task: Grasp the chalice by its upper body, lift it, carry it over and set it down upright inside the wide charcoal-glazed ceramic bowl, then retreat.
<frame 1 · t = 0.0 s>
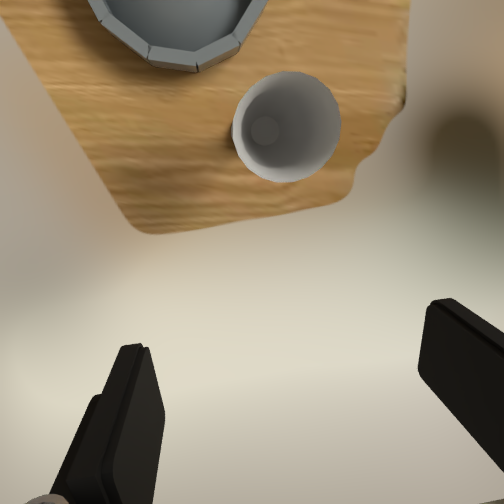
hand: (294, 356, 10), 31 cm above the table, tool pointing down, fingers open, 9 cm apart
chalice: (251, 131, 37), on the table
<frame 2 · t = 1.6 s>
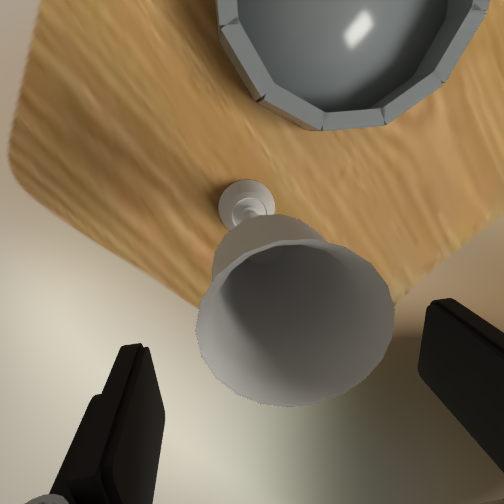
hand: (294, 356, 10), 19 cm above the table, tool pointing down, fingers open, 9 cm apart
chalice: (246, 207, 27), on the table
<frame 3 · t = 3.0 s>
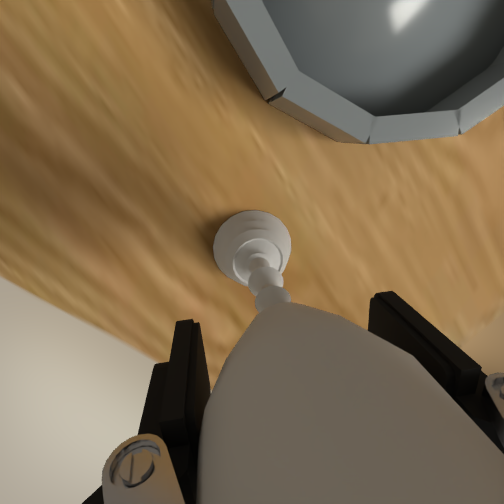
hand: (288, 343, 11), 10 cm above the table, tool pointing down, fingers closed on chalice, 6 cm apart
chalice: (252, 247, 20), on the table, touching gripper
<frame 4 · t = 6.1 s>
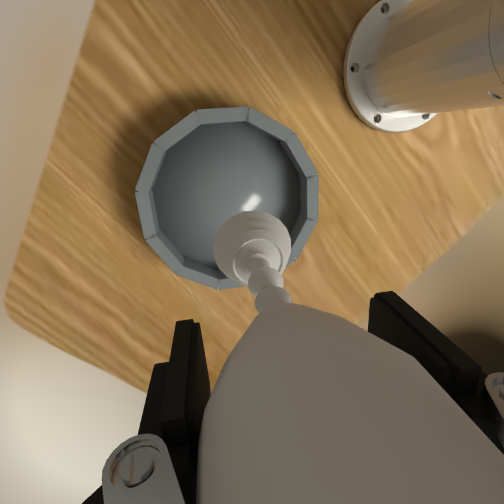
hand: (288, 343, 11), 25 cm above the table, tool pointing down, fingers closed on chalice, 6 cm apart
bowl: (229, 200, 34), on the table
chalice: (252, 247, 20), point 15 cm above the table, touching gripper
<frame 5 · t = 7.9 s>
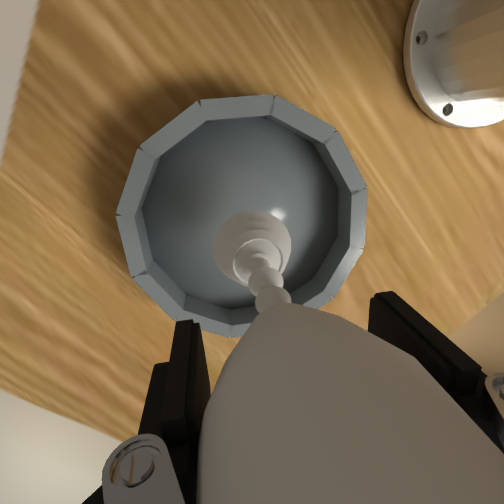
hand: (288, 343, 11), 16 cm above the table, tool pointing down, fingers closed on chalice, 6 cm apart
bowl: (244, 220, 26), on the table
chalice: (252, 247, 20), point 6 cm above the table, touching gripper
when the fingers open (12 cm above the table, at t = 9.1 s): chalice drops 2 cm, resting on bowl.
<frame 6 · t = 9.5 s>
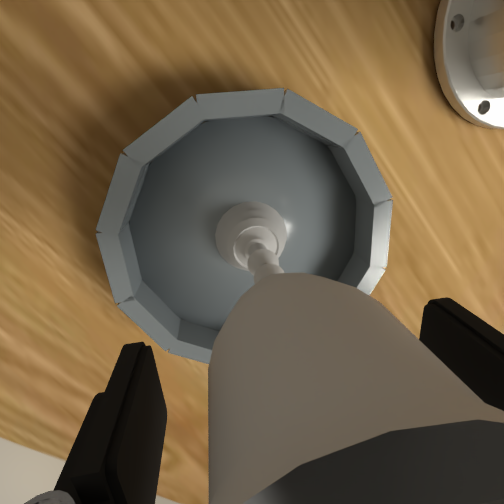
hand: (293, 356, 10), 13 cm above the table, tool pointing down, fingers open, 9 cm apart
bowl: (247, 234, 22), on the table
chalice: (251, 236, 22), point 1 cm above the table, touching bowl
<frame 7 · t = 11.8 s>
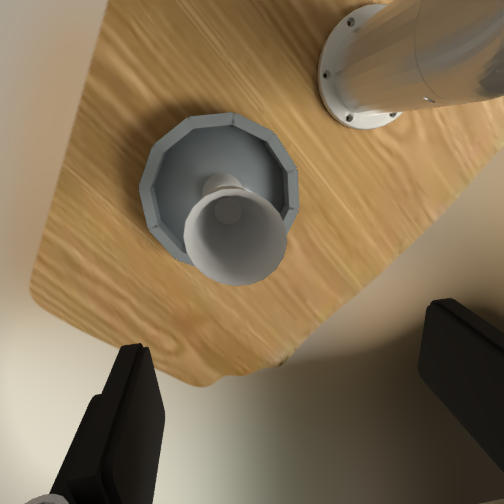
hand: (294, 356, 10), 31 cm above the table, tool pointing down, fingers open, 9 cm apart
bowl: (221, 193, 39), on the table
chalice: (223, 193, 38), point 1 cm above the table, touching bowl
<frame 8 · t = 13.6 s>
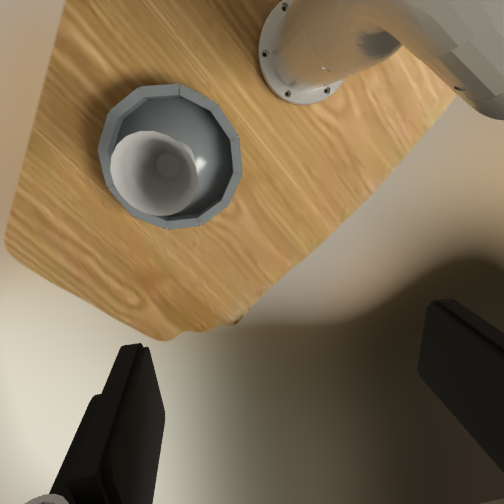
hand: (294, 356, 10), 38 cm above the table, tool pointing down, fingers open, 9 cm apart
bowl: (175, 160, 43), on the table
chalice: (176, 159, 43), point 1 cm above the table, touching bowl
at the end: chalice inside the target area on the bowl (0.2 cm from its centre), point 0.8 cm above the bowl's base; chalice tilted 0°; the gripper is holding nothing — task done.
